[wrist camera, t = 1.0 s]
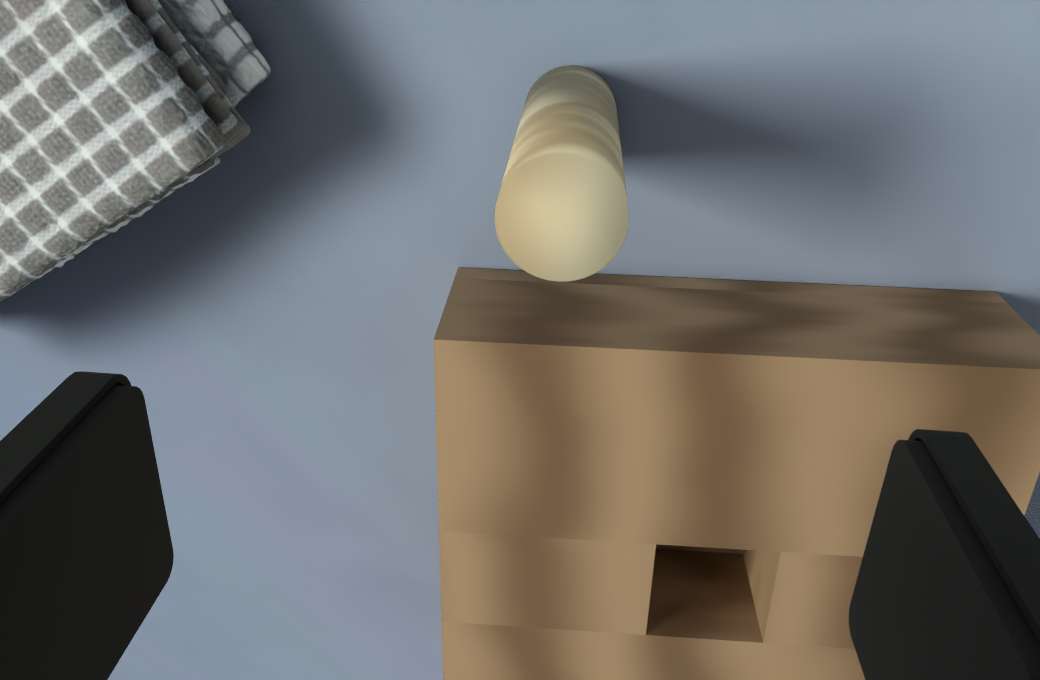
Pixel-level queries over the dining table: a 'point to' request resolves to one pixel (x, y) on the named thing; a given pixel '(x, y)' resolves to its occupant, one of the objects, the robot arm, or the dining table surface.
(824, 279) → the dining table surface
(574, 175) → the peg
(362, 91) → the dining table surface
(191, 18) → the towel
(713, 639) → the bore block
